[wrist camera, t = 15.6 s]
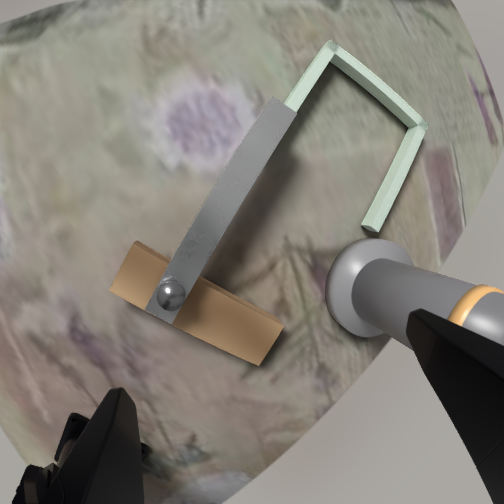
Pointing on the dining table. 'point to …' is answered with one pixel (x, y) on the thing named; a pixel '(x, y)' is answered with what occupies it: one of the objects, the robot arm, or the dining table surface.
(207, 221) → the lever
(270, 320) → the latch rail
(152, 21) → the dining table surface
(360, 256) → the plug
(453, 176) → the dining table surface
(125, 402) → the robot arm
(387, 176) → the pale green u-shaped bracket
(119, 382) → the dining table surface
